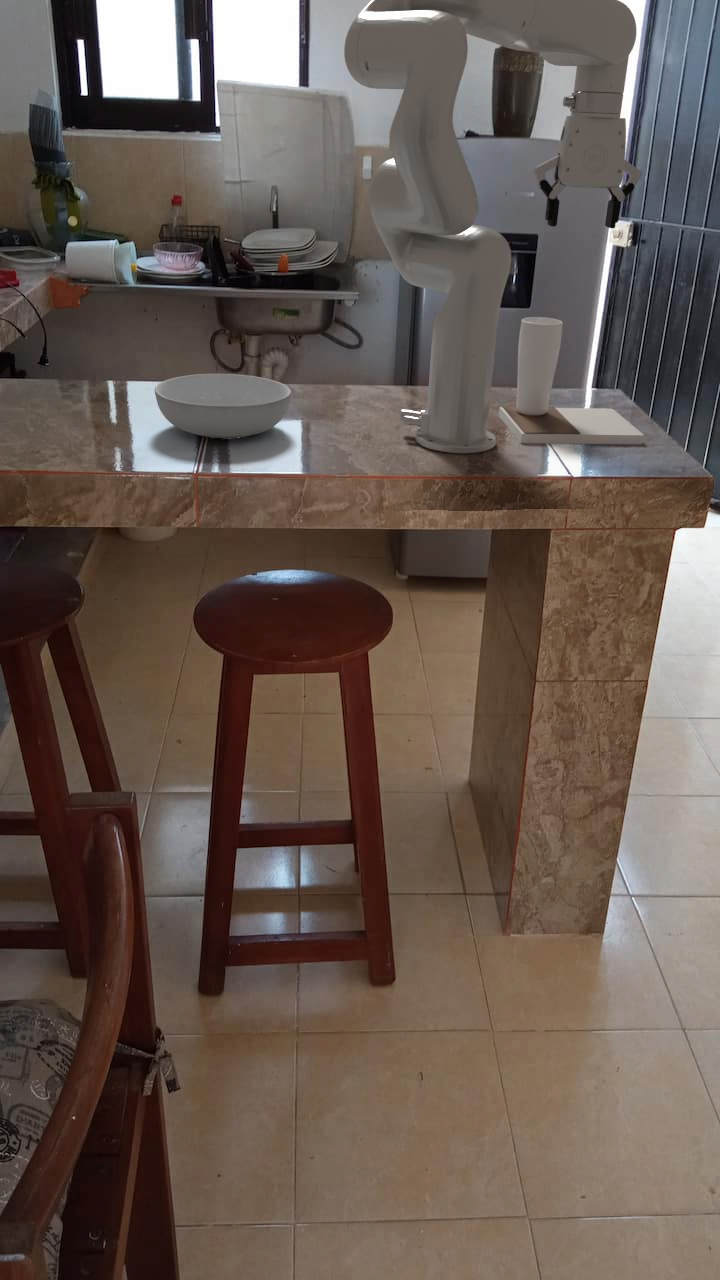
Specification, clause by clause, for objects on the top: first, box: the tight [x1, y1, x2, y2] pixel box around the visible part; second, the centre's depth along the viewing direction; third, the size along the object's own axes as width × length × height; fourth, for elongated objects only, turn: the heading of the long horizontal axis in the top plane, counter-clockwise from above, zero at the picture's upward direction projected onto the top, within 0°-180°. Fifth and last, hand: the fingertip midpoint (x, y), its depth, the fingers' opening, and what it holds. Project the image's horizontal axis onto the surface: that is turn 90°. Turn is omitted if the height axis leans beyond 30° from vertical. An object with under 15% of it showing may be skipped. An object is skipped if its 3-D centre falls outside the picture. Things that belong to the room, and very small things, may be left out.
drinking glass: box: [515, 316, 564, 416], centre depth 165 cm, size 7×7×15 cm
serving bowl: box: [154, 373, 292, 440], centre depth 156 cm, size 21×21×7 cm
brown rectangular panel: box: [502, 405, 580, 434], centre depth 165 cm, size 9×16×2 cm, turn 5°
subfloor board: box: [498, 406, 645, 445], centre depth 166 cm, size 20×16×2 cm
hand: (580, 226), depth 162 cm, fingers open, 9 cm apart
